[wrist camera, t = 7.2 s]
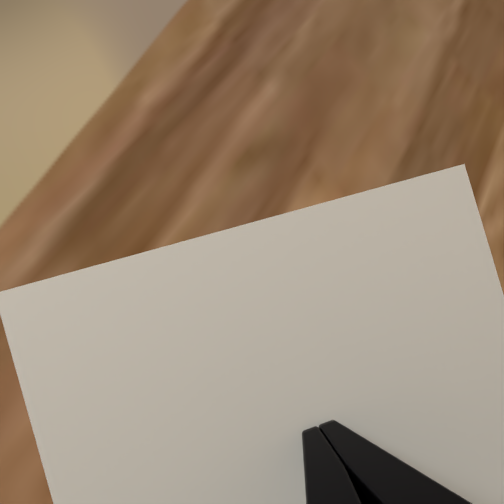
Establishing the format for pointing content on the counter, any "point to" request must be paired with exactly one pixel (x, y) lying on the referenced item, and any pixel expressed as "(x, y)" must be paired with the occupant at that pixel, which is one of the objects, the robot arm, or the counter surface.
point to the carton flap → (272, 353)
